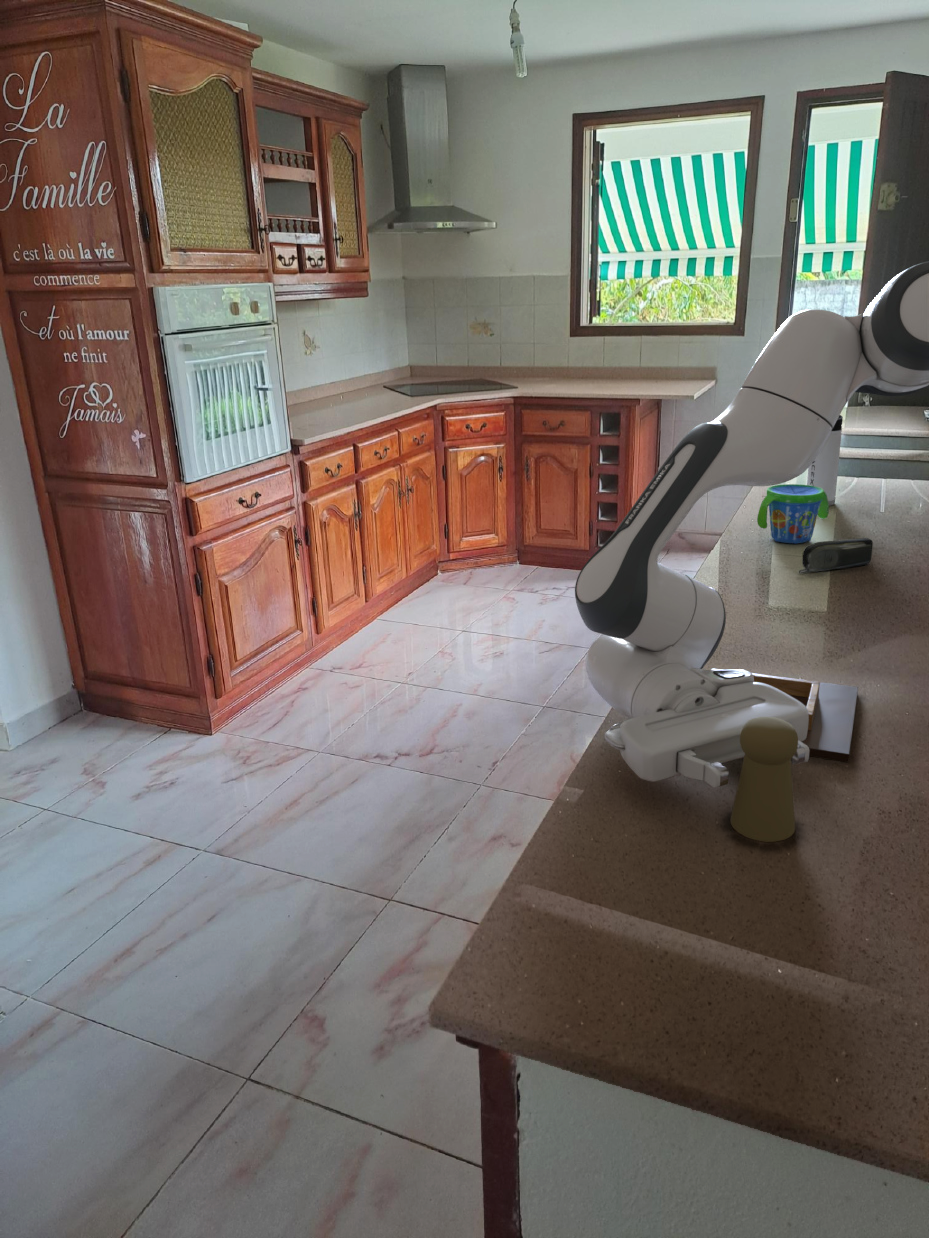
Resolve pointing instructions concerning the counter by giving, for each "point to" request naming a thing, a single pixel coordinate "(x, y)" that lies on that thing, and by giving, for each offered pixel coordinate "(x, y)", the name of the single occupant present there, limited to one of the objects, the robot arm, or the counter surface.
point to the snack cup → (793, 511)
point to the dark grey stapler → (837, 554)
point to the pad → (822, 713)
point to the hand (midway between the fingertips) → (763, 768)
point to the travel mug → (827, 464)
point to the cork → (766, 781)
